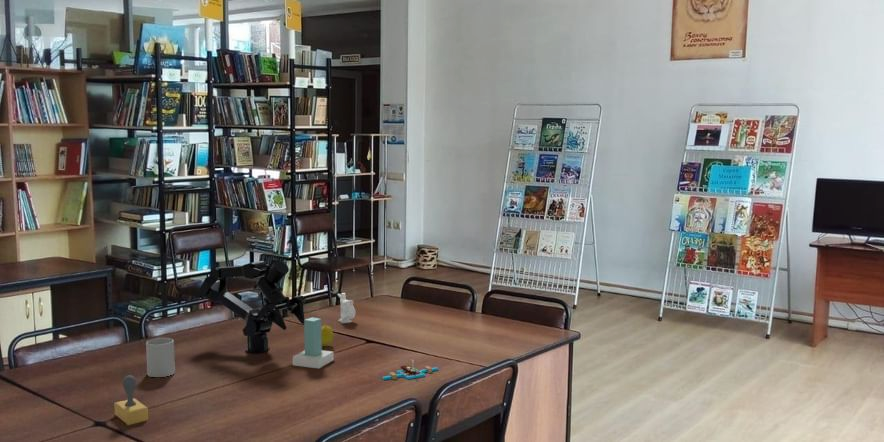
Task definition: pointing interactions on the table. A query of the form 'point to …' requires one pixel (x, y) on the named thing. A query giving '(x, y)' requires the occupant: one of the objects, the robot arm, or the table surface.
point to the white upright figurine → (346, 309)
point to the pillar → (312, 336)
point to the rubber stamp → (130, 404)
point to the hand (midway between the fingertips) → (294, 326)
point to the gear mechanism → (410, 372)
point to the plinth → (313, 359)
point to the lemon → (326, 335)
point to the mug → (160, 357)
